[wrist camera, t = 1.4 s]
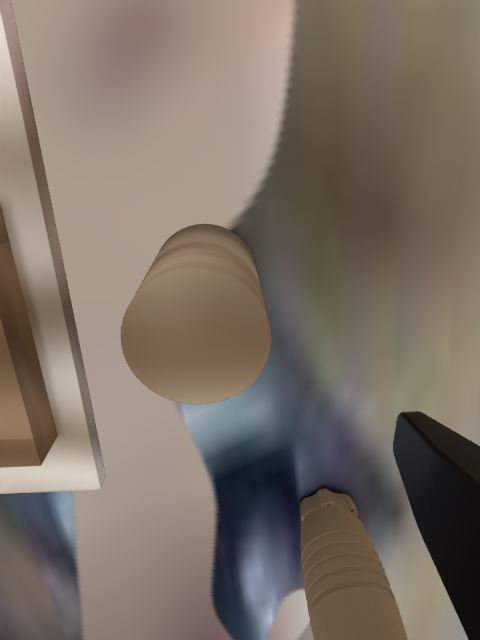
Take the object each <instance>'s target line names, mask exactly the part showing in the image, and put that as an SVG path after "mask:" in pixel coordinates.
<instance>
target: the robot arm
mask: <svg viewBox="0 0 480 640" xmlns="http://www.w3.org/2000/svg"><path fill="white" fill-rule="evenodd" d="M393 452H394V456H395V460H396V463H397V466H398V469H399V472H400V475H401V478H402V481H403V484H404V487H405V490H406V493H407V496H408V499H409V502H410V505H411V508H412V511H413V514H414V517H415V520H416V523H417V526H418V528H419V530H420V533H421V535H422V538H423V540H424V542H425V544H426V547H427V549H428V551H429V553H430V555H431V558H432V560H433V562H434V564H435V566H436V569H437V571H438V573H439V575H440V577H441V580H442V582H443V584H444V586H445V588H446V591H447V593H448V595H449V597H450V600H451V602H452V604H453V606H454V608H455V611H456V613H457V615H458V617H459V619H460V622H461V624H462V626H463V628H464V630H465V633H466V635H467V637H468V639H469V640H480V446H478V445H477V444H475V443H473V442H472V441H470V440H468V439H467V438H465V437H463V436H461V435H460V434H458V433H456V432H455V431H453V430H451V429H449V428H448V427H446V426H444V425H443V424H441V423H439V422H437V421H436V420H434V419H432V418H431V417H429V416H427V415H425V414H424V413H422V412H419V411H414V412H401V413H400V414H399V415H398V417H397V423H396V429H395V436H394V442H393Z"/></svg>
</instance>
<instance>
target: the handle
mask: <svg viewBox="0 0 480 640" xmlns="http://www.w3.org/2000/svg"><path fill="white" fill-rule="evenodd" d="M358 515H359V513H358V511H357V508H356V506H355V504H354V503H353V501H352V499H351V498H350V497H349V496H348V495H346V494H344V493H342V494H339V493H334V492H331V491H329V490H327V489H320V490H318V492H317V493H316V494H314V495H312V496H310V497H308V498H304V499H303V501H302V502H301V503H300V517H301V560H302V569H303V578H304V587H305V594H306V600H307V605H308V611H309V617H310V623H311V628H312V632H313V636H314V640H408V639H407V635H406V632H405V629H404V625H403V622H402V619H401V615H400V612H399V609H398V606H397V603H396V601H395V597H394V595H393V592H392V589H391V587H390V584H389V581H388V579H387V576H386V574H385V571H384V569H383V566H382V564H381V562H380V560H379V557H378V555H377V552H376V550H375V548H374V545H373V543H372V541H371V539H370V537H369V535H368V533H367V531H366V529H365V527H364V526H363V524H362V522H361V521H360V520H359V519H358V518H357V516H358Z"/></svg>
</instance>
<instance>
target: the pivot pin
mask: <svg viewBox="0 0 480 640" xmlns="http://www.w3.org/2000/svg"><path fill="white" fill-rule="evenodd" d="M121 345H122V349H123V353H124V356H125V359H126V361H127V363H128V365H129V367H130V369H131V370H132V372H133V373H134V374H135V376H136V377H137V378H138V379H139V380H140V381H141V382H142V383H143V384H144V385H145V386H146V387H147V388H149V389H150V390H152V391H153V392H155V393H156V394H158V395H160V396H162V397H164V398H167V399H169V400H172V401H176V402H180V403H185V404H200V405H201V404H211V403H216V402H220V401H223V400H226V399H229V398H231V397H233V396H235V395H237V394H239V393H240V392H242V391H243V390H245V389H246V388H247V387H249V386H250V385H251V384H252V383H253V382H254V381H255V380H256V379H257V377H258V376H259V375H260V373H261V372H262V370H263V368H264V366H265V365H266V362H267V359H268V357H269V352H270V348H271V330H270V326H269V321H268V317H267V312H266V308H265V304H264V299H263V295H262V291H261V286H260V282H259V278H258V274H257V269H256V265H255V261H254V258H253V255H252V253H251V251H250V249H249V248H248V246H247V245H246V243H245V242H244V241H243V240H242V239H241V238H240V237H239V236H237V235H236V234H235V233H233V232H232V231H230V230H228V229H226V228H223V227H220V226H217V225H211V224H198V225H193V226H189V227H186V228H183V229H182V230H180V231H178V232H176V233H175V234H174V235H172V236H171V237H170V238H169V239H168V240H167V241H166V242H165V243H164V245H163V246H162V248H161V250H160V251H159V253H158V255H157V257H156V258H155V260H154V262H153V264H152V266H151V267H150V269H149V271H148V273H147V274H146V276H145V278H144V280H143V282H142V284H141V285H140V287H139V289H138V291H137V292H136V294H135V296H134V298H133V299H132V301H131V303H130V305H129V306H128V308H127V310H126V313H125V316H124V318H123V322H122V326H121Z"/></svg>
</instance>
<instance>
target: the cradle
mask: <svg viewBox="0 0 480 640" xmlns="http://www.w3.org/2000/svg"><path fill="white" fill-rule="evenodd" d="M104 478H105V470H104V465H103V460H102V455H101V450H100V445H99V440H98V435H97V430H96V425H95V420H94V415H93V409H92V404H91V400H90V394H89V389H88V385H87V379H86V374H85V369H84V365H83V359H82V355H81V349H80V344H79V339H78V334H77V329H76V324H75V319H74V314H73V309H72V304H71V299H70V294H69V290H68V284H67V279H66V274H65V269H64V264H63V259H62V254H61V249H60V244H59V239H58V234H57V229H56V224H55V219H54V214H53V209H52V204H51V199H50V194H49V189H48V184H47V179H46V174H45V169H44V163H43V158H42V154H41V148H40V144H39V138H38V133H37V128H36V123H35V118H34V113H33V108H32V103H31V98H30V94H29V88H28V83H27V79H26V73H25V69H24V63H23V59H22V53H21V48H20V43H19V38H18V33H17V28H16V23H15V18H14V13H13V8H12V3H11V0H0V494H5V493H29V492H53V491H77V490H100V489H101V487H102V484H103V481H104Z"/></svg>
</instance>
